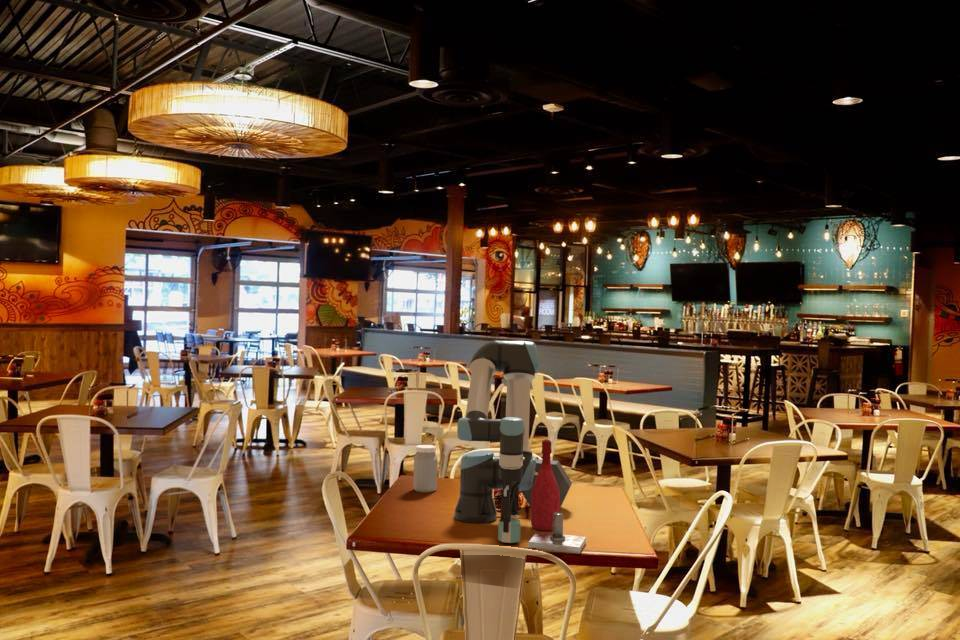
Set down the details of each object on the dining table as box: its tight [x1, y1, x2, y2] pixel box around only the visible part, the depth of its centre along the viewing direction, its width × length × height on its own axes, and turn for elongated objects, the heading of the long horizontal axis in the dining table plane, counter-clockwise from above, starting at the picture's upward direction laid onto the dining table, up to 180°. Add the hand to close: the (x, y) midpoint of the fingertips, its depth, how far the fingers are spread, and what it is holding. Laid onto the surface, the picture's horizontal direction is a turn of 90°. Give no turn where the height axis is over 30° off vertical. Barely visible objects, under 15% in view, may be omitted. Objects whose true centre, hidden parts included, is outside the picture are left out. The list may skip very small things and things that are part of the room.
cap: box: [497, 518, 521, 544], centre depth 250 cm, size 7×7×6 cm
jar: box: [412, 444, 438, 493], centre depth 322 cm, size 10×10×18 cm
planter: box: [519, 458, 573, 508], centre depth 298 cm, size 17×8×21 cm
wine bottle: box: [530, 439, 561, 532], centre depth 269 cm, size 10×10×30 cm
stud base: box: [528, 512, 587, 554], centre depth 249 cm, size 16×12×10 cm
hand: (509, 538), depth 250 cm, fingers closed on cap, 7 cm apart
